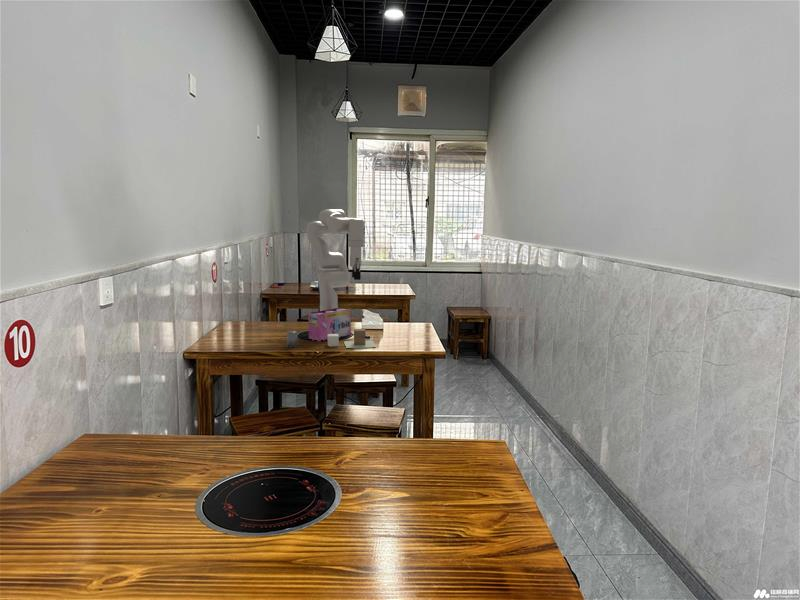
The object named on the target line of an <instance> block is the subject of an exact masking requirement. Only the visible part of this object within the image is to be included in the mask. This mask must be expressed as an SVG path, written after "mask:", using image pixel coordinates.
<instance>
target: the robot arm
mask: <svg viewBox="0 0 800 600" xmlns="http://www.w3.org/2000/svg"><path fill="white" fill-rule="evenodd" d="M318 219H319V220H315V221H311V222H309V223H308V224H307V226H306V236H307V239H308V242H309V244H310V245H311V247H312V251H313V254H314V259H315V262H316V266H317V268H318V269H319V270H321V271H320V273H318V275H317V282H318V287H319V311H323V310H329V309H334V308H339V306H338V303H339V302H338V300H339V299H338V298H339V297H338V294H337V292H336V291H335V289H336V288H345V287H347V286H349V285H350V283H351V282H350V281H351V279H350V278H353V280H354V281H356V280H357V281H358V280H359V281H360V280H361V279H362V276H361V267H362V248H364V247H365V235H364V234H365V231H364V229H365V225H364V224H365V222H364V219H363V218H357V217H356V218H355V217H347V214H346V212H345V211H344V210H343V209H340V208H339V209H338V208H337V209H332V208H328V209H327V208H326V209H323V210H321V211H320V213H319V215H318ZM338 234H348V237H347V238H348V244H347V245H348V248H350V249H349V267H351V268H352V270H351V277H350V272H349V269H348V265H347V262H346V258H345V256H344V255H343V254H342V253H341V252H332V251H330V249H329V244H327V242H326V241H325V240H324V239H323V238H322V237H335V236H337V235H338ZM334 288H335V289H334Z"/></svg>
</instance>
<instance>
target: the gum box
mask: <svg viewBox="0 0 800 600" xmlns="http://www.w3.org/2000/svg"><path fill="white" fill-rule="evenodd" d="M351 319H352V318H351V308H348V309H346V308H343V307H338V308H334V309H329V310H323V311H320V310H318V311H313V312H308V340H309V339H312V340H311V341H314V340H317V341H316V342H322V341H321V340H323V341H327V340H326V339H327V334H338V335H339V338H341V336H342V337H346V336H349V335H350V334H351V335H352V327H351V326H352V324H351Z"/></svg>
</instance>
